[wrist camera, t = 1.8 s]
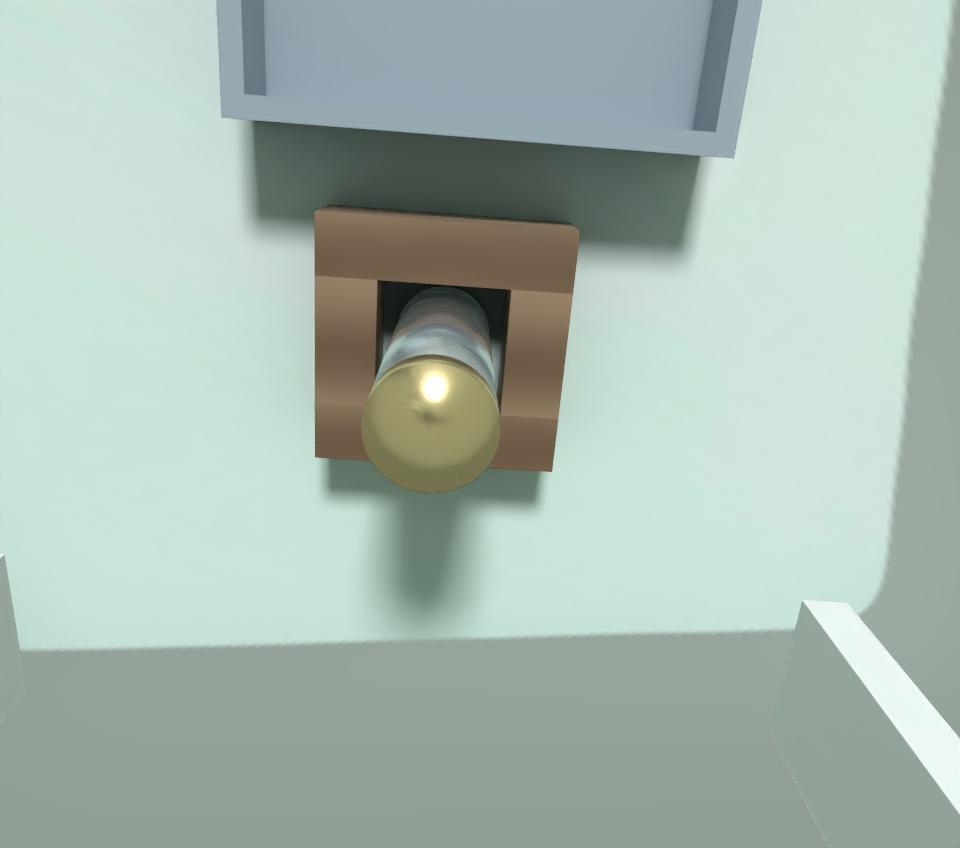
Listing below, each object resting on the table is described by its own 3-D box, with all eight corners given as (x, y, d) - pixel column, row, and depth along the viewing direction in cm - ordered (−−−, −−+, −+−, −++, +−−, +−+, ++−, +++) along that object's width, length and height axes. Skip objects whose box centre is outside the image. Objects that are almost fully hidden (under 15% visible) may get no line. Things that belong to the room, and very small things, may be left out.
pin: (399, 283, 32) (362, 359, 21) (492, 289, 32) (506, 368, 21) (395, 372, 34) (359, 489, 22) (485, 378, 34) (494, 497, 22)
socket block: (328, 204, 31) (314, 211, 28) (570, 223, 31) (580, 231, 29) (327, 431, 34) (315, 457, 32) (545, 445, 35) (551, 471, 32)
